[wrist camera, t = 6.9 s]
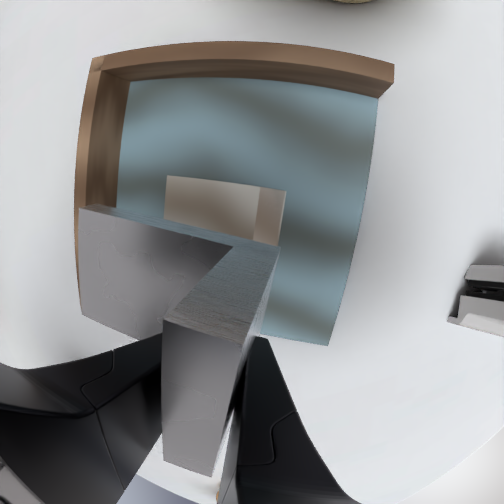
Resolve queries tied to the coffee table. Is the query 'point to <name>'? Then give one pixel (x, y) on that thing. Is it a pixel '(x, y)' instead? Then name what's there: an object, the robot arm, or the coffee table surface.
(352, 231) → the corner arena
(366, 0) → the plant pot
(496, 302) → the grey arched casing
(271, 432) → the robot arm
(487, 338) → the coffee table surface
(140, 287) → the aluminium bracket
